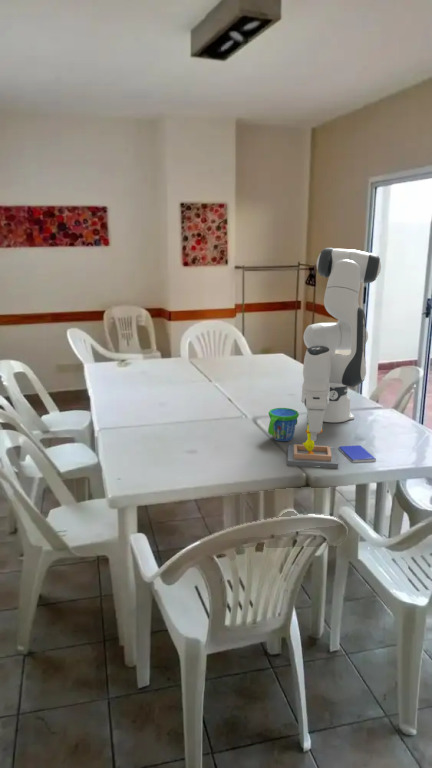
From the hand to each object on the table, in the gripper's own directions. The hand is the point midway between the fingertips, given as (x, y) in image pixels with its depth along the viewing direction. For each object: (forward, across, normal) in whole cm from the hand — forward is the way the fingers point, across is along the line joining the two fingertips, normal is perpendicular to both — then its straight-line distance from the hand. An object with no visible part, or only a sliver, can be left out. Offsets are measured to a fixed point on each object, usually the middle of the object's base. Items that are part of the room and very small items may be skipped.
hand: (313, 437), depth 186 cm
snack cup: (+8, -18, -10) cm, 22 cm away
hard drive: (+8, -6, +15) cm, 18 cm away
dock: (+8, 0, 0) cm, 8 cm away
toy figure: (+6, 0, 0) cm, 6 cm away
